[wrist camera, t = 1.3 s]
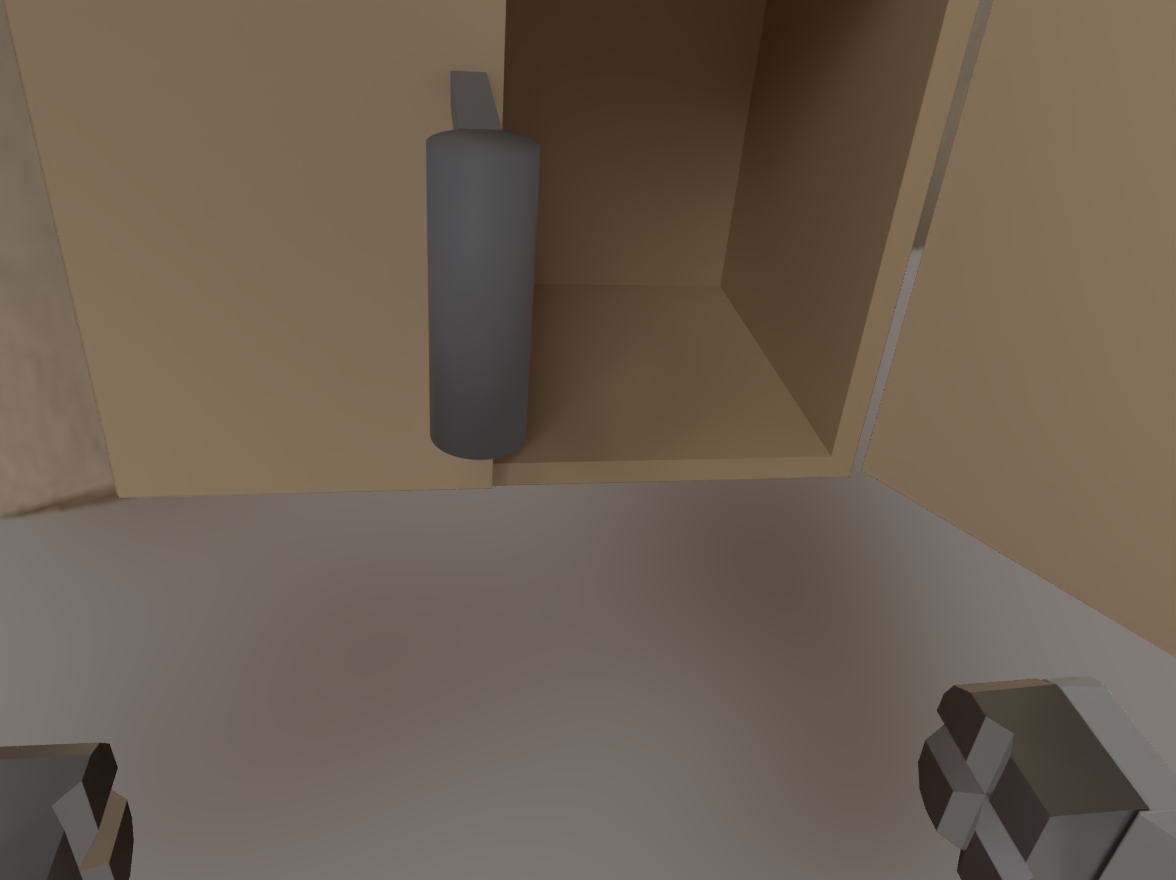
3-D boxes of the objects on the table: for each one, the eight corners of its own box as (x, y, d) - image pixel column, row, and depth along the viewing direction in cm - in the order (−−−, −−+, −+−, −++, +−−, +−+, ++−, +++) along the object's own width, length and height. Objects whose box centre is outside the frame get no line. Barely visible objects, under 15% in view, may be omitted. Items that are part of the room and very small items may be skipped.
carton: (125, -260, 29) (-70, -311, 17) (812, -191, 33) (1032, -195, 21) (206, 290, 38) (117, 494, 27) (730, 295, 42) (849, 477, 31)
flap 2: (861, 470, 30) (873, 464, 31) (1190, 666, 24) (1200, 656, 24) (1042, -173, 21) (1055, -170, 21) (1657, -136, 15) (1664, -134, 15)
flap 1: (-48, -282, 17) (-299, -336, 11) (519, -225, 19) (569, -245, 13) (124, 485, 27) (38, 684, 21) (497, 476, 28) (519, 657, 22)
